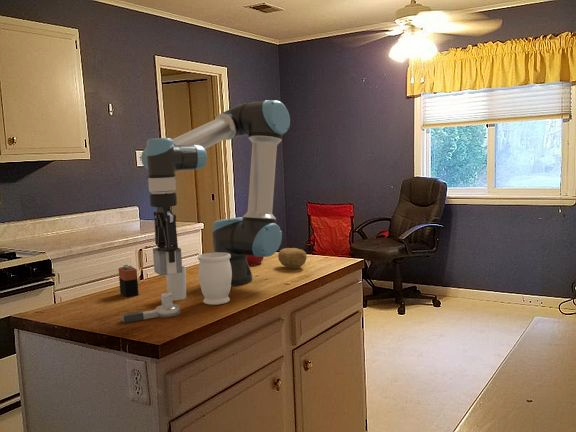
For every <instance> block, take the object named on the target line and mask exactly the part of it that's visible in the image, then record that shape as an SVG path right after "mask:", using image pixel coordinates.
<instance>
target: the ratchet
mask: <svg viewBox="0 0 576 432" xmlns="http://www.w3.org/2000/svg"><path fill="white" fill-rule="evenodd" d="M160 297H161V298H160V299H161V305H159V306H158V305H157V306H156V307H155V308H154V309H151V310H148V311H147V310H146V311H142V310H138V311H130V312H125V313H121V321H122V323H124V324H128V323H134V322H139V321H144V320H149V319H153V318H161V319H162V318H163V319H164V318H172V317H173V318H174V317H176V316H179V315H180V314H181V306H180V305H179V304H174V302H173V301H174V300H173V297H172V294H171V293H168V292H165V293H164V292H163V293H160Z"/></svg>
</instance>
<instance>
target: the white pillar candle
mask: <svg viewBox="0 0 576 432" xmlns="http://www.w3.org/2000/svg"><path fill="white" fill-rule="evenodd" d="M186 272H187V268H186V266H183V265H182V273H176V274H169V275H165V280H166V289H167V290H166V291H167V293H171V294H172V297H173V301H181V300H185V299H187V275H186V274H187V273H186Z"/></svg>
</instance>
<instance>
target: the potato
mask: <svg viewBox="0 0 576 432" xmlns="http://www.w3.org/2000/svg"><path fill="white" fill-rule="evenodd" d="M277 257H278V261H279V262H280V263H281V266H284V267H286V268H288V269H298V268H301V267H302V266H304V265H305V263H306V261H307V253H306V251H305V250H303V249H300V248H297V247H291V248H290V247H285V248H282V249H280V251H279V252H278V256H277Z"/></svg>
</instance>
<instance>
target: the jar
mask: <svg viewBox="0 0 576 432" xmlns="http://www.w3.org/2000/svg"><path fill="white" fill-rule="evenodd" d="M230 258H231V254H229V253H223V252H215V253H214V252H207V253H206V252H205V253H201V254H199V255H197V260H198V262H199V264H198V280H199V285H200V289H201V293H202V295H203V297H204V299H203V300H202V301H203V303H204V304H206V305H210V306H212V305H213V306H217V305H223V304H227V303H229V302H230V301H231V298H230V297H229V295H230V292H231V289H232V288H231V287H232V286H231V280H232V269H231V264H230V261H229V259H230Z"/></svg>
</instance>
